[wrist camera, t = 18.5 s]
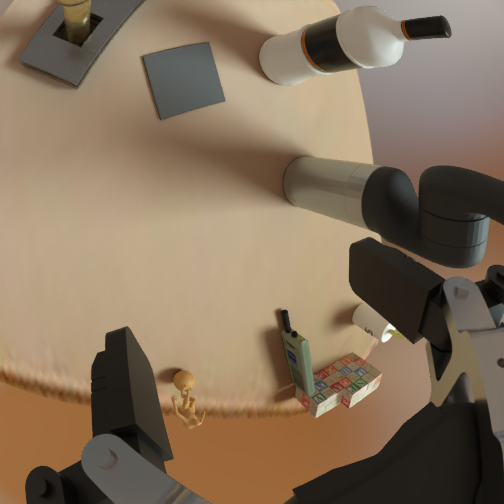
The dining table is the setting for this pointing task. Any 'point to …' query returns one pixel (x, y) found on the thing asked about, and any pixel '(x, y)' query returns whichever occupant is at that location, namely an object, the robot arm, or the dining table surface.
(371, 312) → the candle
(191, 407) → the figurine
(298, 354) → the handheld radio
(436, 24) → the vodka
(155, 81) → the rubber mat
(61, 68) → the slotted grey base plate
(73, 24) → the brass pin
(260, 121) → the dining table surface
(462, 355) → the robot arm
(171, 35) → the dining table surface
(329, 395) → the stack of blocks
